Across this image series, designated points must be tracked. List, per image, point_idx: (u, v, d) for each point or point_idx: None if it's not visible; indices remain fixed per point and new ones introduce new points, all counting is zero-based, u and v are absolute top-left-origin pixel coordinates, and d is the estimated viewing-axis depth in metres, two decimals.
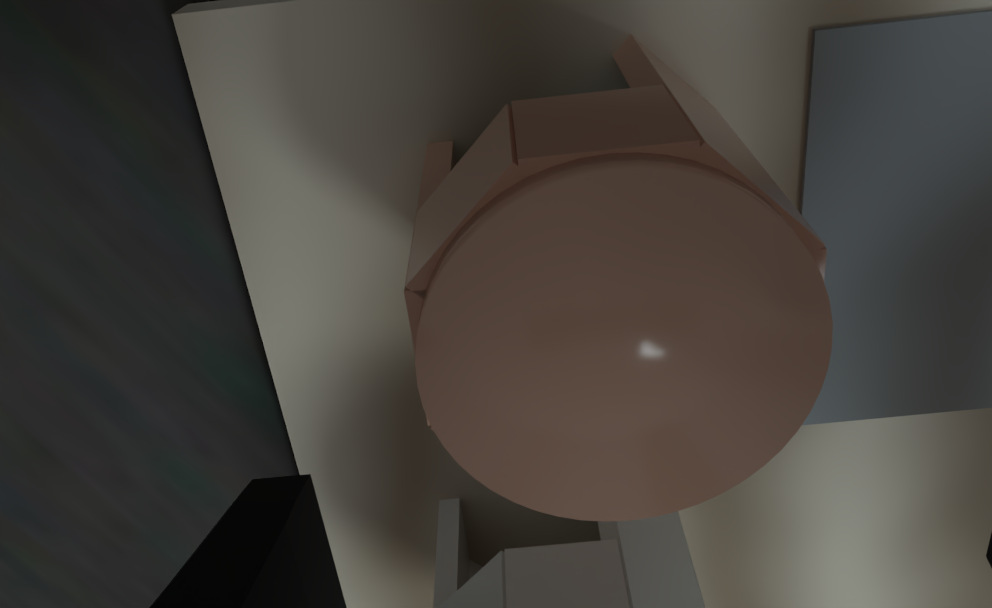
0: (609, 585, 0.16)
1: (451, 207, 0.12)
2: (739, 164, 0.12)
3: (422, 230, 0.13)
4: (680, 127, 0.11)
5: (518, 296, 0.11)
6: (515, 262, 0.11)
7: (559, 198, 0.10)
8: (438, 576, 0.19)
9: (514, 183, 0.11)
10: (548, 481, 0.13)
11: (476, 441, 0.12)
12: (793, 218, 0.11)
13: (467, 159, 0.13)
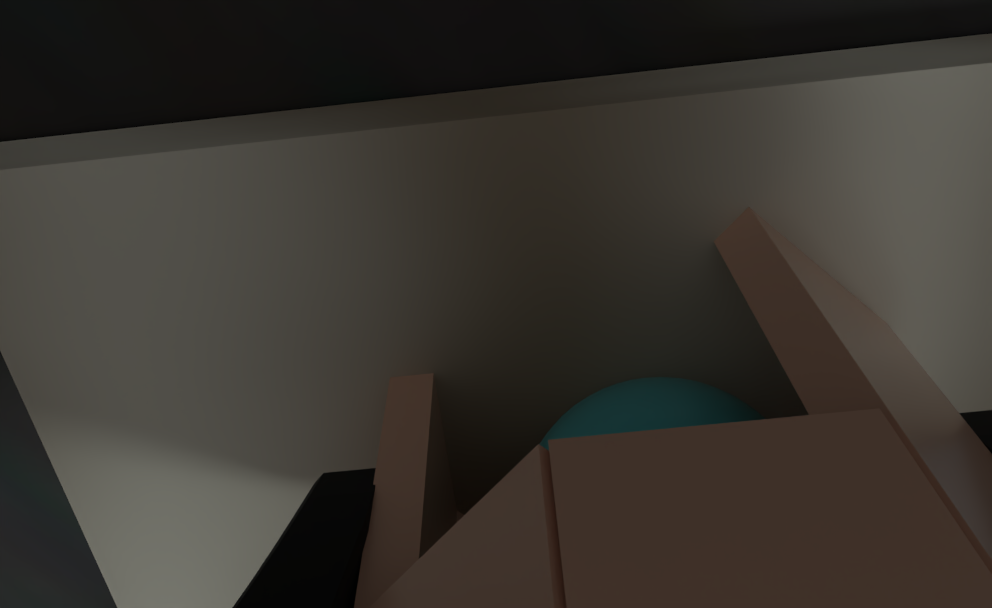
0: None
1: None
2: None
3: None
4: None
5: None
6: None
7: None
8: None
9: None
10: None
11: None
12: None
13: (453, 565, 0.06)
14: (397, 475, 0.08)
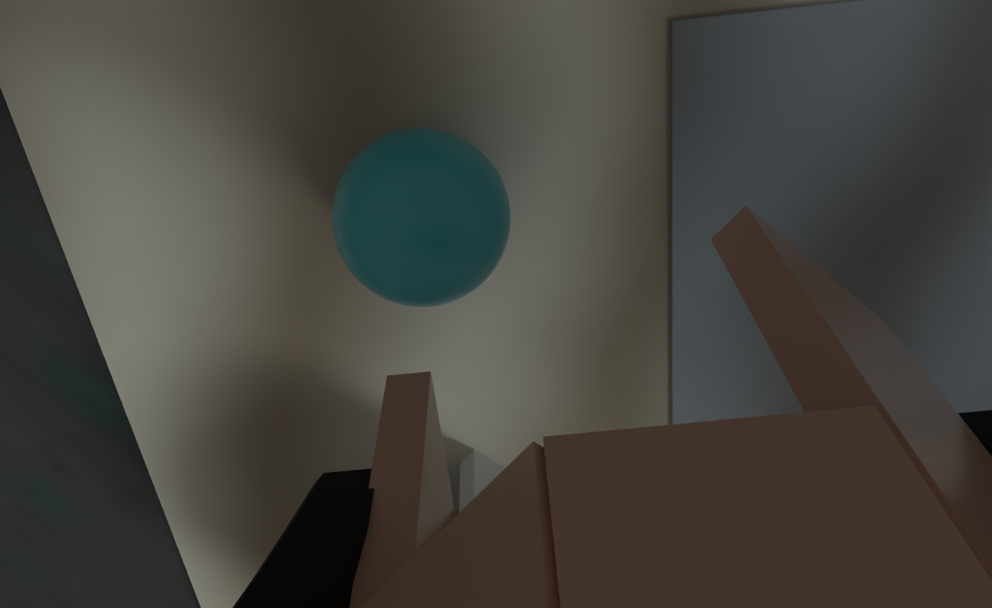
0: None
1: None
2: None
3: None
4: None
5: None
6: None
7: None
8: None
9: None
10: None
11: None
12: None
13: (448, 562, 0.06)
14: (393, 473, 0.08)
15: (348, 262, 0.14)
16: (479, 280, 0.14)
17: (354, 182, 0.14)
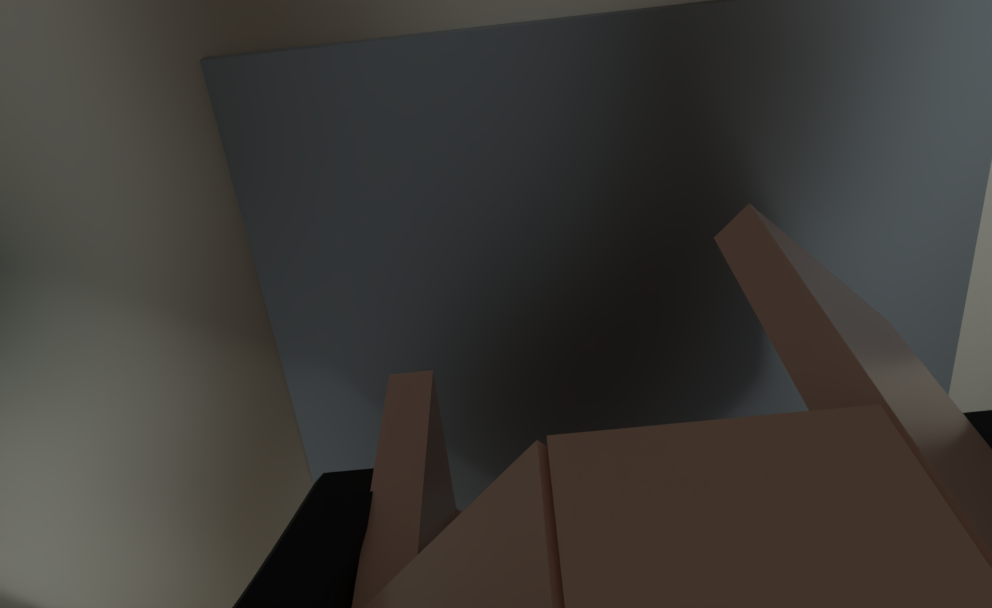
0: None
1: None
2: None
3: None
4: None
5: None
6: None
7: None
8: None
9: None
10: None
11: None
12: None
13: (451, 561, 0.06)
14: (396, 472, 0.08)
15: None
16: None
17: None
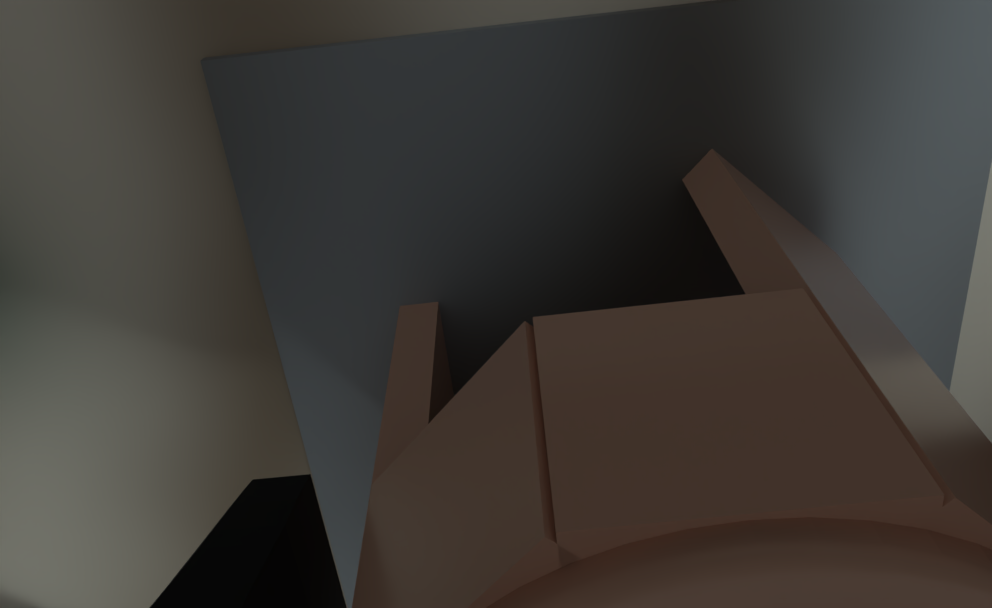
0: None
1: (424, 549, 0.06)
2: (988, 491, 0.06)
3: (375, 558, 0.07)
4: (884, 437, 0.05)
5: None
6: None
7: None
8: None
9: (548, 572, 0.05)
10: None
11: None
12: None
13: (455, 420, 0.07)
14: (407, 379, 0.10)
15: None
16: None
17: None
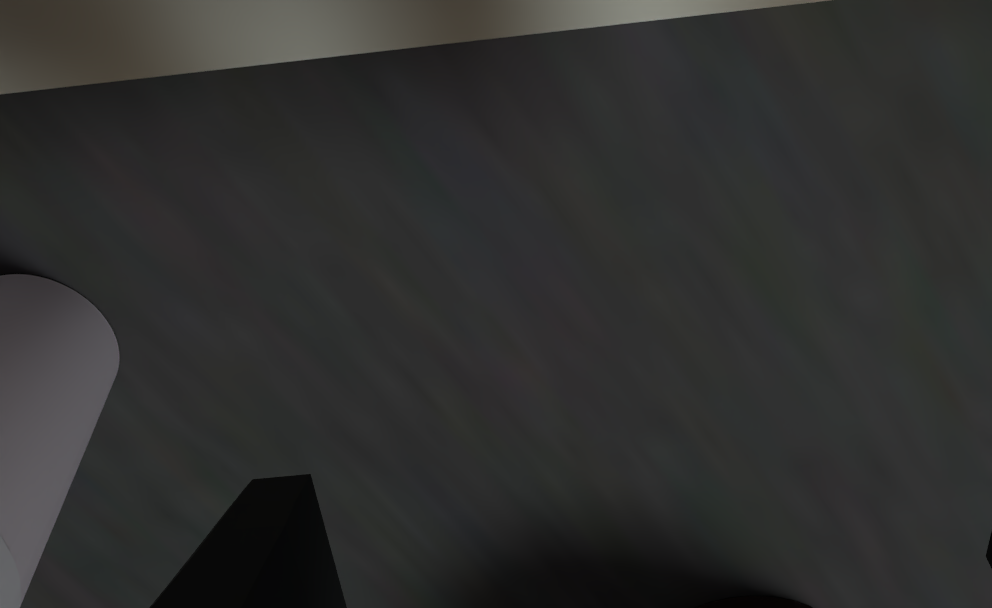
0: None
1: None
2: None
3: None
4: None
5: None
6: None
7: None
8: None
9: None
10: None
11: None
12: None
13: None
14: None
15: None
16: None
17: None
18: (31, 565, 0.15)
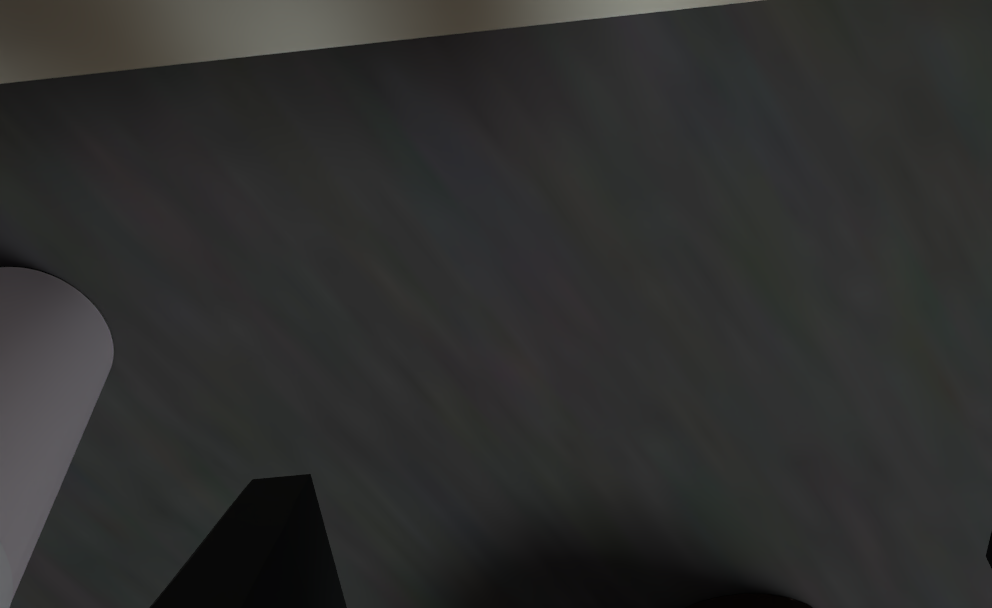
0: None
1: None
2: None
3: None
4: None
5: None
6: None
7: None
8: None
9: None
10: None
11: None
12: None
13: None
14: None
15: None
16: None
17: None
18: (23, 559, 0.15)
